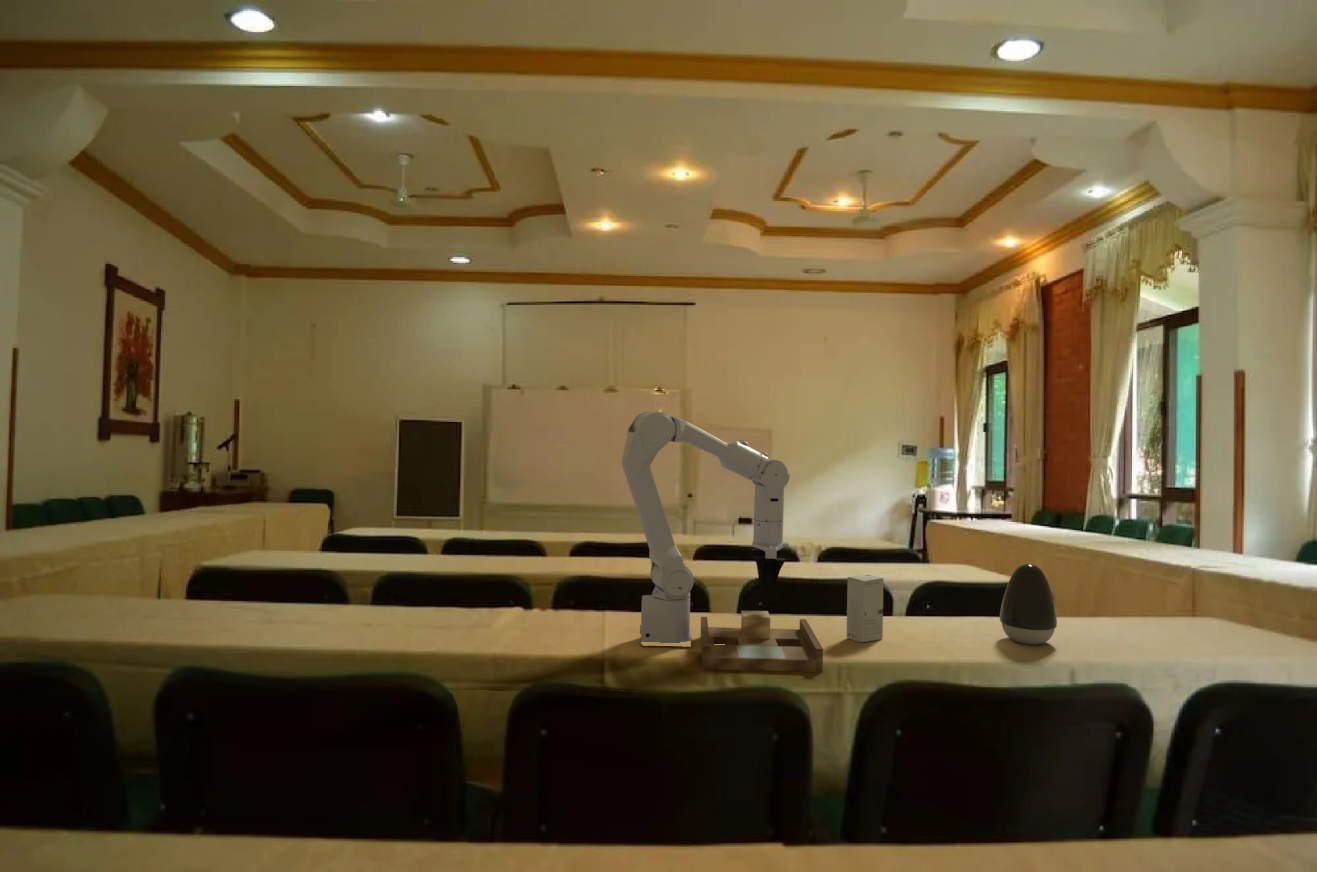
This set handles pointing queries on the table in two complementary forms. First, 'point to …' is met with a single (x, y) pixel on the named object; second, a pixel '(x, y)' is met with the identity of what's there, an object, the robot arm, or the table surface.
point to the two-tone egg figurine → (1028, 607)
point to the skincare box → (865, 608)
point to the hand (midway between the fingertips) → (766, 589)
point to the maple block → (755, 624)
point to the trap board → (761, 649)
